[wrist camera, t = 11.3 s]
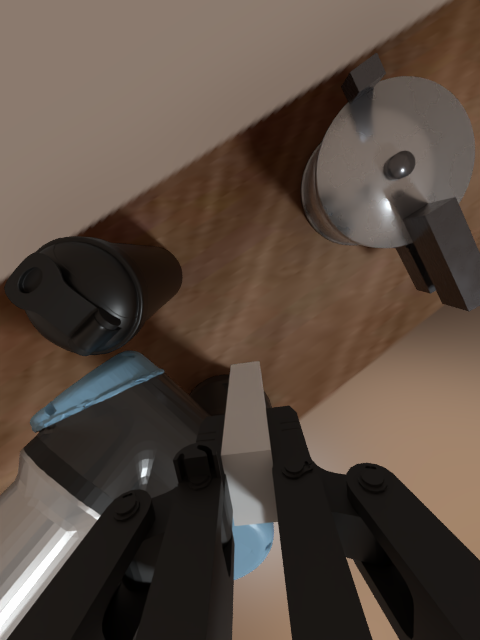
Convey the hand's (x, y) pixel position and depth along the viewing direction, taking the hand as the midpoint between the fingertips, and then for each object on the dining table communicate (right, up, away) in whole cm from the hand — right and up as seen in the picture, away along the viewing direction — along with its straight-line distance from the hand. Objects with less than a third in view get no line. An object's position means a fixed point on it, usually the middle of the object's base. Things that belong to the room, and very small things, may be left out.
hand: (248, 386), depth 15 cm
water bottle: (-13, +10, +28) cm, 33 cm away
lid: (+17, +17, +16) cm, 29 cm away
